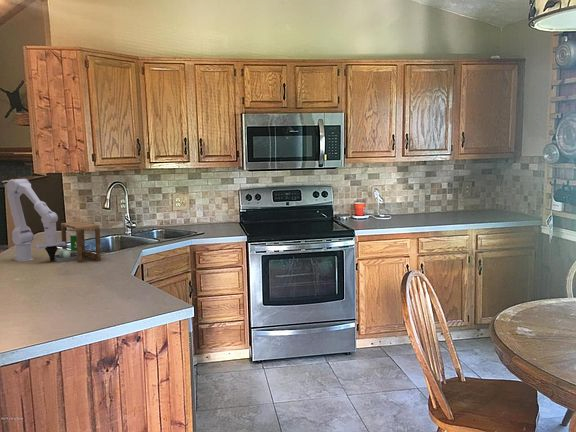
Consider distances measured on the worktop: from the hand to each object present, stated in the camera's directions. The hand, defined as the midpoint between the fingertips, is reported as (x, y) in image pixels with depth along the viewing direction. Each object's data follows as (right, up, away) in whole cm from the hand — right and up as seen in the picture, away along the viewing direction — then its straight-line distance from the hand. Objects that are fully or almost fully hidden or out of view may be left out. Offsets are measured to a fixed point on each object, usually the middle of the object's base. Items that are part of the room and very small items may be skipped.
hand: (52, 260), depth 272 cm
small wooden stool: (+12, 0, +9) cm, 15 cm away
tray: (+5, 0, +5) cm, 7 cm away
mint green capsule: (+7, 0, +3) cm, 7 cm away
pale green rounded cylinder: (+3, 0, +7) cm, 7 cm away
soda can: (+3, +2, +27) cm, 27 cm away
